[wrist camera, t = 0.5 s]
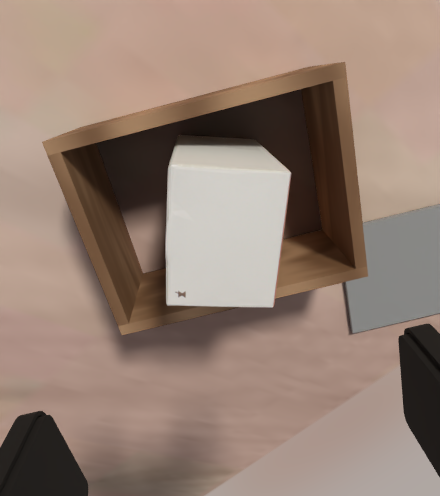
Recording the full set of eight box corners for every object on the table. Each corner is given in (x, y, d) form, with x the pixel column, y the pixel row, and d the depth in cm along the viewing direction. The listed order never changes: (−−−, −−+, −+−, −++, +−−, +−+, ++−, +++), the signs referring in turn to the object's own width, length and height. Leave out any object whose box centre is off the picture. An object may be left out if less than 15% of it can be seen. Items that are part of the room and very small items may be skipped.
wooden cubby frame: (308, 67, 30) (345, 62, 22) (332, 235, 35) (368, 276, 28) (79, 127, 31) (42, 142, 23) (137, 283, 36) (121, 335, 29)
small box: (248, 232, 35) (275, 311, 23) (175, 229, 34) (163, 309, 22) (257, 136, 32) (294, 170, 20) (177, 132, 31) (164, 163, 19)
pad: (450, 201, 35) (453, 203, 34) (452, 306, 39) (454, 309, 38) (337, 229, 35) (339, 231, 34) (351, 330, 39) (352, 333, 39)
